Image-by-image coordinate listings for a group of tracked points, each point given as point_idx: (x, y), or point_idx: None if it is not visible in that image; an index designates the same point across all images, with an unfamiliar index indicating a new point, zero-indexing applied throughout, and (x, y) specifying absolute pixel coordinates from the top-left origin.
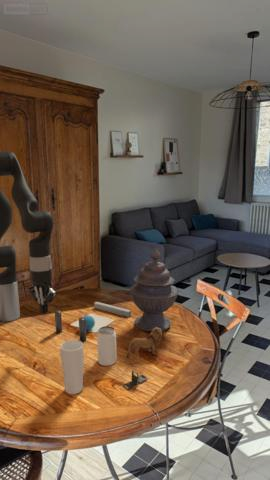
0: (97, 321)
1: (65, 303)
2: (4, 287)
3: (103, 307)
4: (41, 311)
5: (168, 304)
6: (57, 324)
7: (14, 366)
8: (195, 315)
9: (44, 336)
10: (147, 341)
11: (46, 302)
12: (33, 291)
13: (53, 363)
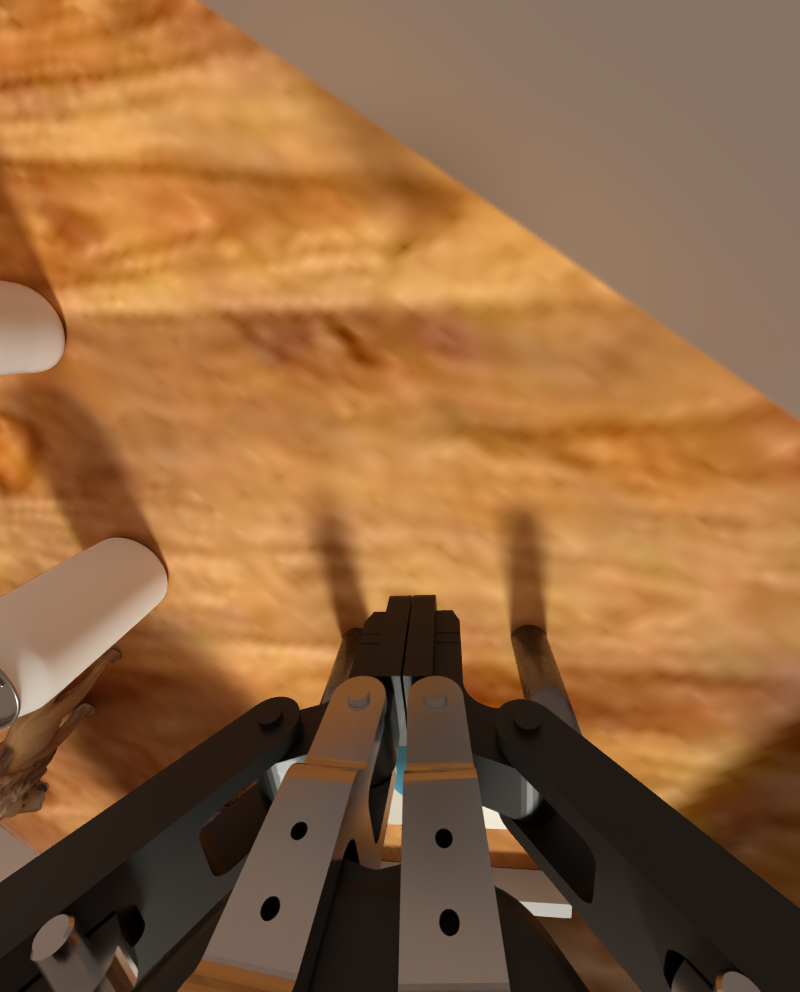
0: None
1: (753, 857)
2: None
3: (505, 886)
4: (411, 607)
5: None
6: (532, 664)
7: (433, 248)
8: None
9: (561, 568)
10: (7, 733)
11: (250, 725)
12: (671, 929)
13: (289, 416)
